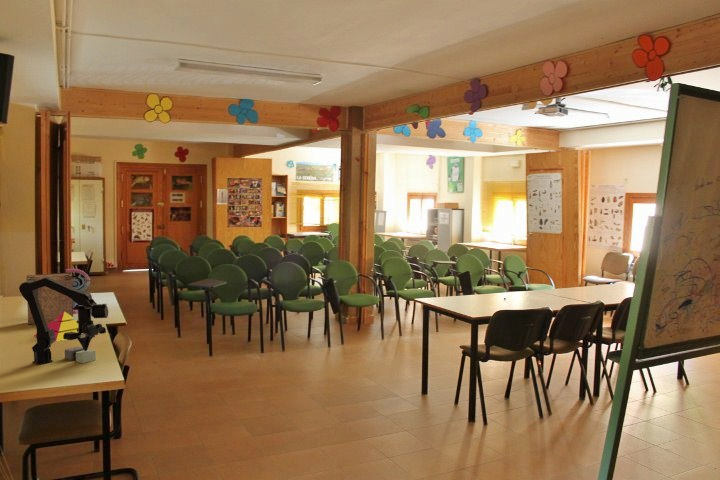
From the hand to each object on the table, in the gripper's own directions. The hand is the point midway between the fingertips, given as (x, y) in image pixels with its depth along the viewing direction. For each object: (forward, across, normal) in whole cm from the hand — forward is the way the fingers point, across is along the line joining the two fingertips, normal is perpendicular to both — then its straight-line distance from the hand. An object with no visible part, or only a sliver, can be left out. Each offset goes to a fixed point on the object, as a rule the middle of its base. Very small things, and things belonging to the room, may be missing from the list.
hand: (85, 350), depth 284 cm
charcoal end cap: (+5, 0, +10) cm, 11 cm away
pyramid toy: (+6, +26, +61) cm, 66 cm away
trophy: (+5, +71, +126) cm, 145 cm away
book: (+5, +41, +104) cm, 112 cm away
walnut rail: (+5, 0, +5) cm, 7 cm away
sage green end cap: (+5, 0, 0) cm, 5 cm away
